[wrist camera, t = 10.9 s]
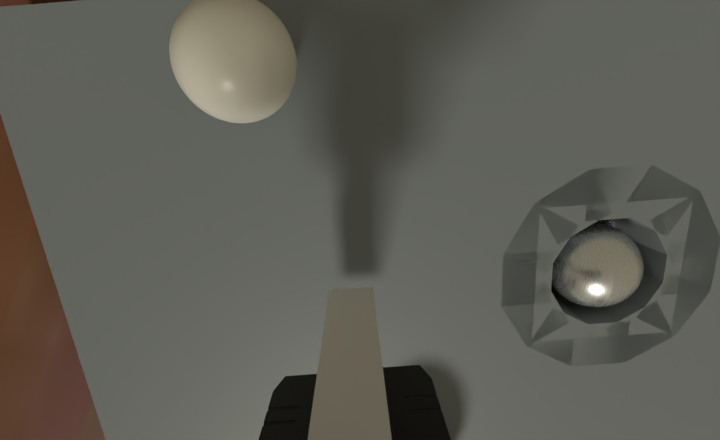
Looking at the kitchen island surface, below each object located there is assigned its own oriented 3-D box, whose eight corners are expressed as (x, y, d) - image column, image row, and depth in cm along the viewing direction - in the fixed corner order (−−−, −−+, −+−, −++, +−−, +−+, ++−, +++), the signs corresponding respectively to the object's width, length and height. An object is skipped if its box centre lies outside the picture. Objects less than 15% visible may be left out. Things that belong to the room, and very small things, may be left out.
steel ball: (574, 328, 14) (663, 318, 14) (578, 241, 13) (673, 231, 13) (527, 289, 17) (599, 281, 17) (529, 218, 16) (604, 210, 16)
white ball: (211, 127, 13) (158, 128, 9) (192, 17, 12) (125, -26, 8) (309, 119, 13) (292, 118, 9) (298, 9, 12) (274, -38, 8)
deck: (157, 466, 20) (129, 514, 17) (33, 29, 14) (-34, 9, 12) (739, 428, 19) (793, 471, 17) (856, -36, 14) (963, -70, 11)
